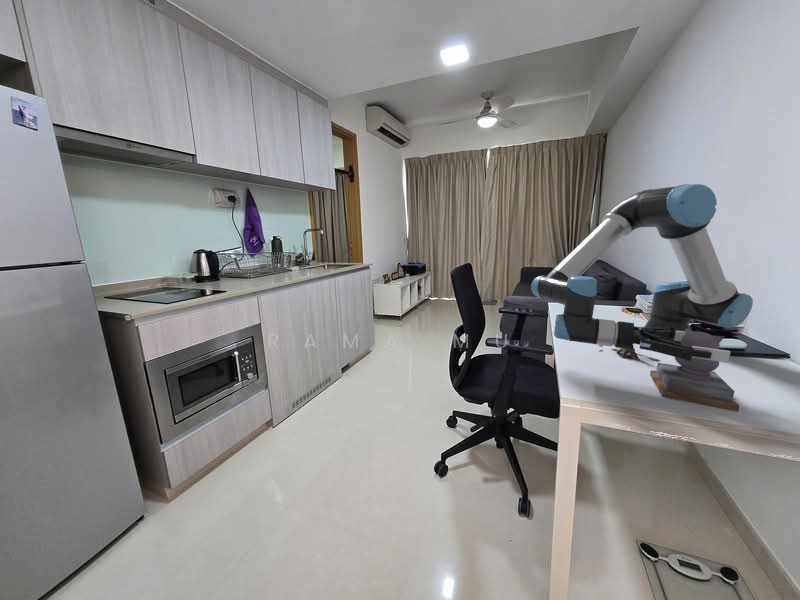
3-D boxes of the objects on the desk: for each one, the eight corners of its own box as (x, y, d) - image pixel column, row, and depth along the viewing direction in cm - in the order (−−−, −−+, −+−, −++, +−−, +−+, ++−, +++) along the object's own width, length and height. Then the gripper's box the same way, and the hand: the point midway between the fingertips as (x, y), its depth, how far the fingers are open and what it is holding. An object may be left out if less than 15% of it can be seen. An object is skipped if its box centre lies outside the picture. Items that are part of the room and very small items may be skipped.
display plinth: (649, 374, 90) (652, 360, 89) (714, 386, 84) (717, 370, 83) (662, 396, 78) (665, 380, 77) (737, 411, 72) (742, 394, 71)
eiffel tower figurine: (661, 362, 101) (669, 323, 98) (647, 368, 96) (655, 328, 93) (612, 347, 113) (618, 313, 110) (597, 352, 108) (602, 316, 105)
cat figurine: (664, 371, 82) (673, 329, 80) (680, 366, 85) (689, 325, 83) (705, 385, 75) (716, 339, 72) (721, 379, 78) (732, 335, 75)
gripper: (608, 334, 98) (696, 345, 88) (618, 362, 77) (736, 381, 67) (612, 311, 97) (701, 320, 87) (623, 333, 75) (744, 349, 65)
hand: (716, 347), depth 77 cm, fingers open, 13 cm apart
